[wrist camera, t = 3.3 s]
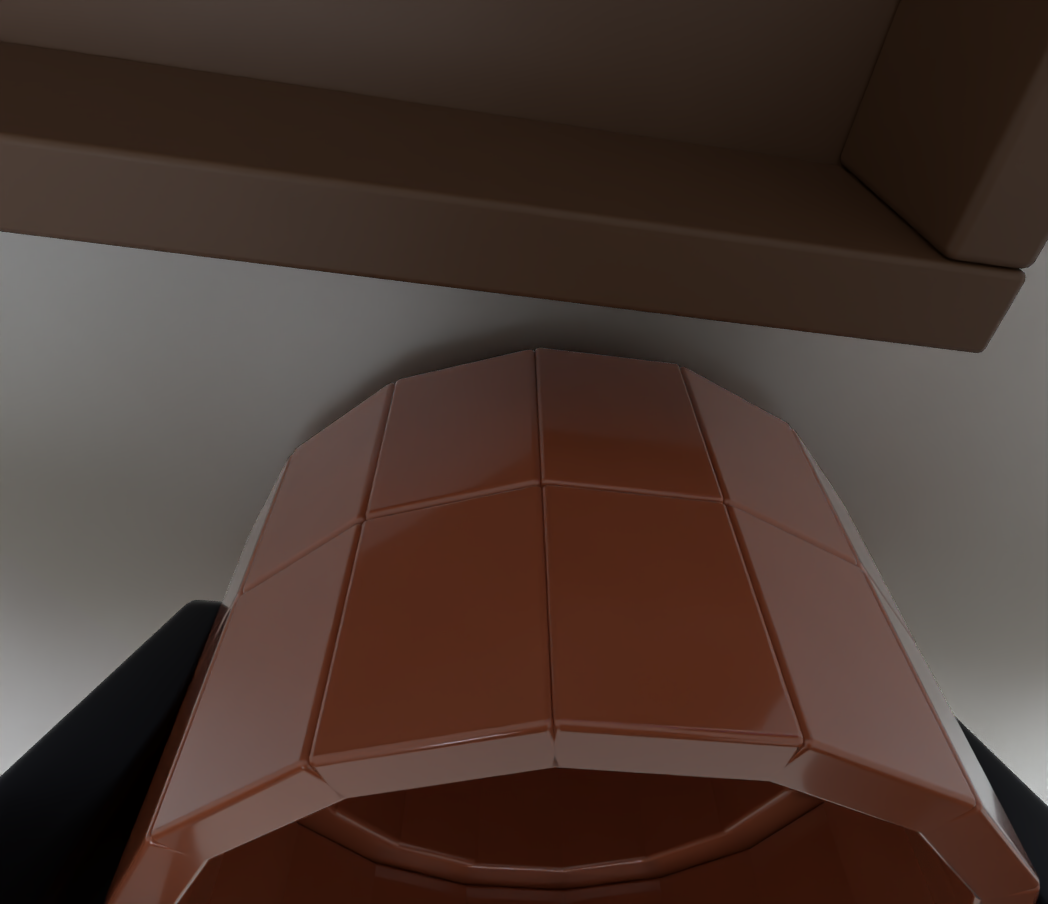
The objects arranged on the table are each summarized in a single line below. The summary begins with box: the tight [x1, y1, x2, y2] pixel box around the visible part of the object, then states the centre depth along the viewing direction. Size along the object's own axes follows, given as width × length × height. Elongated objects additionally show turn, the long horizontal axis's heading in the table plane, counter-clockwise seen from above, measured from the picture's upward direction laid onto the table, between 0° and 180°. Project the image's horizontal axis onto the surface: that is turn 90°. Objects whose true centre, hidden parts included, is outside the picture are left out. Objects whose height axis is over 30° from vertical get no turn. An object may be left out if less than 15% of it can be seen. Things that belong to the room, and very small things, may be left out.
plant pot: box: [103, 348, 1040, 904], centre depth 8 cm, size 7×7×4 cm
